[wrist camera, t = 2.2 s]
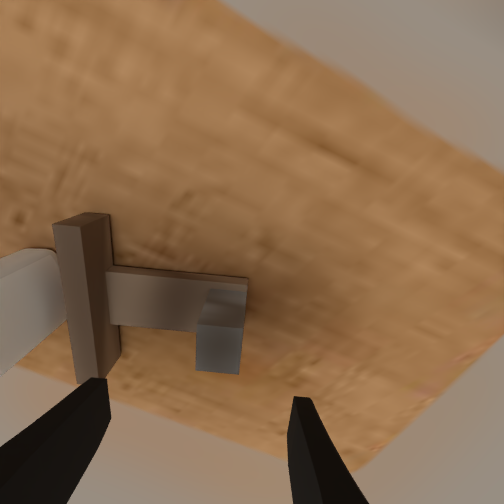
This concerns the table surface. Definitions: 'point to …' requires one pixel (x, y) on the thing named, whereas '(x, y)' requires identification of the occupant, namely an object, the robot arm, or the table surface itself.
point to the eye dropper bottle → (28, 302)
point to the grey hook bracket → (141, 302)
